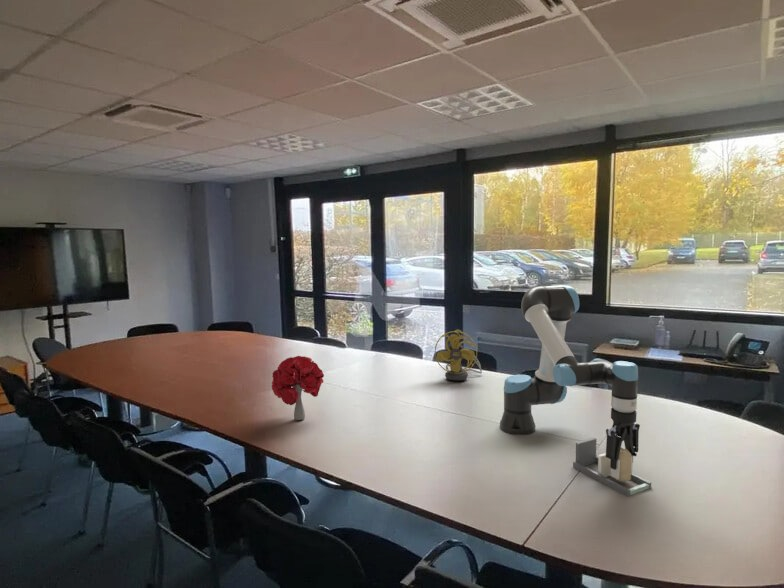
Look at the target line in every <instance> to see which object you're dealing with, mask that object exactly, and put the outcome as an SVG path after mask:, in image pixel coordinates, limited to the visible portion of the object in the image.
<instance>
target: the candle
mask: <svg viewBox="0 0 784 588" xmlns="http://www.w3.org/2000/svg"><path fill="white" fill-rule="evenodd" d="M631 456H632V455H631V453H630V452H629V451H628V450H627V449H625V448H623V447H621V449H620V453H619V458H618V460H620V475H619V479H618V480H617V479H616V478H614V477H612V478H613V479H615V480H617V481H619V482H630V481H631Z"/></svg>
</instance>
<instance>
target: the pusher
mask: <svg viewBox="0 0 784 588" xmlns="http://www.w3.org/2000/svg"><path fill="white" fill-rule="evenodd" d="M597 456H598V463H597V473H599V474H601V475H603V476H605V477H607V478H608V477H612V476H611V467H610V463H611V459H609V458H607V457H606V452H604V453H600V454H598V455H597Z"/></svg>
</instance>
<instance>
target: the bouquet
mask: <svg viewBox="0 0 784 588" xmlns="http://www.w3.org/2000/svg"><path fill="white" fill-rule="evenodd" d="M324 377H325V374H324V372H323V369H321V368H320V367H319V366H318V363H316V362H315V361H314V360H313V359H312V358H311V357H307V356H301V355H297V356H290V357H287V358H285V359H284V360H283V361H281V363H279V364H278V366H277V369H275V370H273V372H272V381H271V389H272V392H273V394H274V395H275V396H276V397H277V398H278V399H281V401H282V402H283V403H284V404H285V405H289V406H294V410H293V419H294V420H296V421H300V420H304V419H305V418H306V412H305V408H304V405H303V401H302V392H303V393H306V394H309V395H311V396H313V397H315V398H317V397H318V396H319V392H320V389H321V387H322V384H323V383H324V379H323V378H324Z"/></svg>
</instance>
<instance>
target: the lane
mask: <svg viewBox="0 0 784 588" xmlns="http://www.w3.org/2000/svg"><path fill="white" fill-rule="evenodd" d="M594 463H597V464H598V455H597V438H596V437H591V438H588V439H584V440H580V441H576V442H575V461H572V468H574V469H576V470H578V471H579V472H582V473H583V474H586V475H587V476H589V477H590V478H593V479H594V480H597V482H600V483H602V484H604V485H605V486H608V487H610V488H611V489H613V490H615V491H617V492H619V493H621V494H623V496H626V497H629V496H632V495H634V494H637V493H640V492H643V491H645V489H646V490H648V489H650V488H652V482H651V481H649V480H648V479H645V478H644V477H642V476H640V475H637V474H635V473H633V472H632V475H631V479H630V481H633V482H634V483H635V482H636V483H637V484H638V485H636V486H633V487H630V488H627V487H625V486H623V485H621V484H620V483H618V482H616V481H614V480H612V479H610V478H608V477H605V476H603V475H601V474H599V473H598V471H596V470H593V469H591V468H589V467H587V466H588V465H592V464H594Z"/></svg>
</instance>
